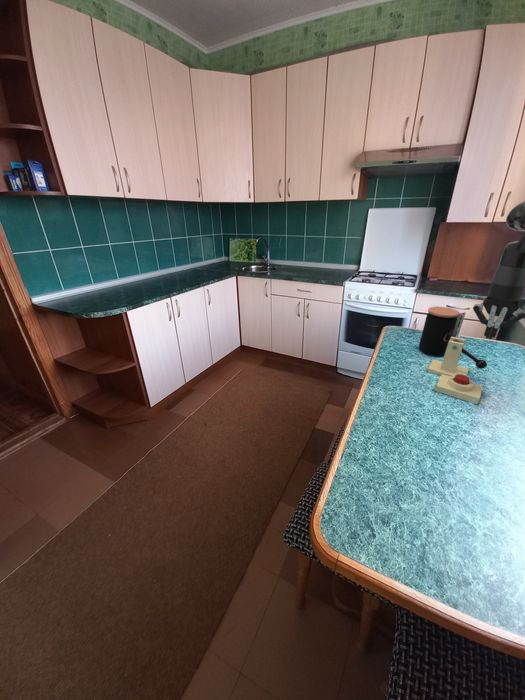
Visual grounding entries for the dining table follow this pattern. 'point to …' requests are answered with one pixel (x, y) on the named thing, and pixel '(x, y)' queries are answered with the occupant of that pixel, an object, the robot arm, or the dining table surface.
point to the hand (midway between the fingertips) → (488, 337)
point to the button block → (459, 389)
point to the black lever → (474, 358)
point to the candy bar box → (458, 323)
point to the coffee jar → (438, 330)
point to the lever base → (449, 360)
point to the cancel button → (461, 379)
